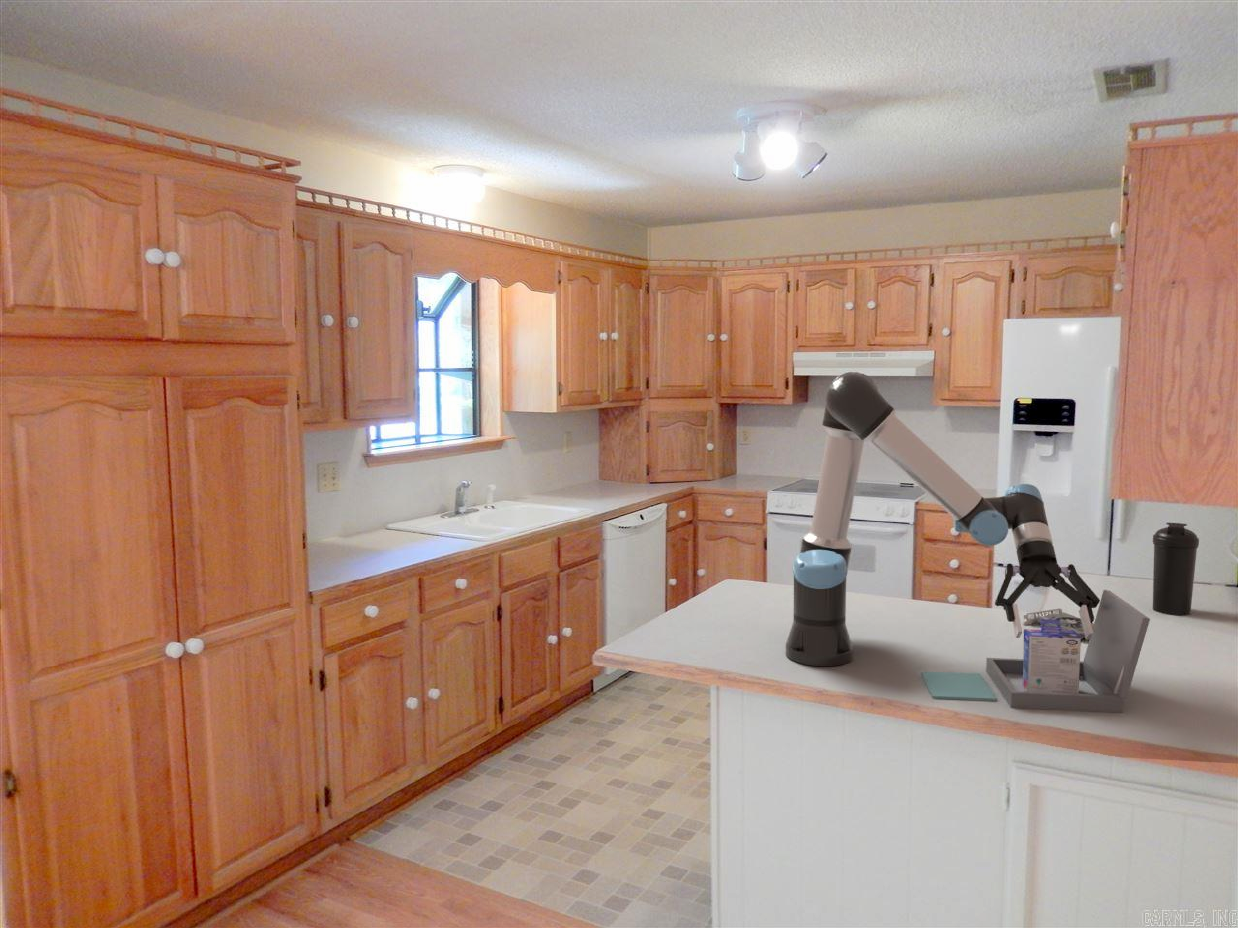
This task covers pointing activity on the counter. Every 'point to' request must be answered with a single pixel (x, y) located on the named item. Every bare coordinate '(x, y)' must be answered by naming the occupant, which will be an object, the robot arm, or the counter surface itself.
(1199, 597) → the counter surface
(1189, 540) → the water bottle
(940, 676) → the teal mat
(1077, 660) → the ink cartridge box
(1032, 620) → the graphics card
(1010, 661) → the equipment case
